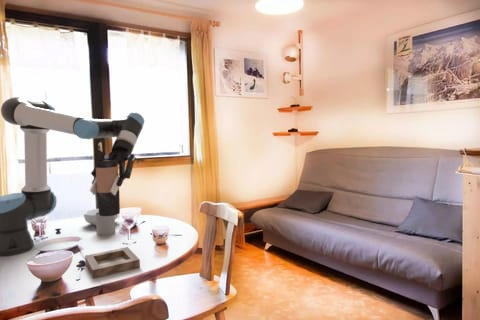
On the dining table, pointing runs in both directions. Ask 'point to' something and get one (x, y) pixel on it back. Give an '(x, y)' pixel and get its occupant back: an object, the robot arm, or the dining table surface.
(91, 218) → the cereal bowl
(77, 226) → the dining table surface
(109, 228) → the cup
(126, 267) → the walnut collar
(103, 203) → the travel mug
